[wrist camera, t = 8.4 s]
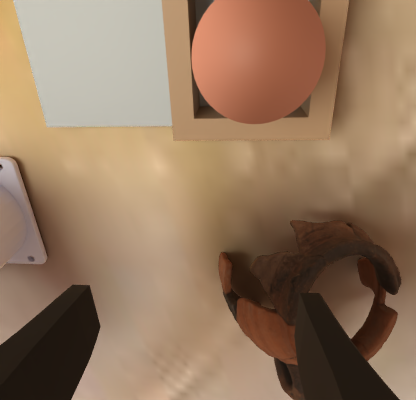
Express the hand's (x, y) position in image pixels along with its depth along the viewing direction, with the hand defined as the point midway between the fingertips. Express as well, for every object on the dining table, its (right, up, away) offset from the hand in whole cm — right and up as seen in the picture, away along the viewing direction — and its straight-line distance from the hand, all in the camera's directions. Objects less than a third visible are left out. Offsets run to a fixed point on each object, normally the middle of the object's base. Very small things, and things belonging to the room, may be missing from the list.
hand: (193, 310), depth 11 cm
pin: (+2, +11, +4) cm, 12 cm away
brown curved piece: (+6, -1, +12) cm, 13 cm away
